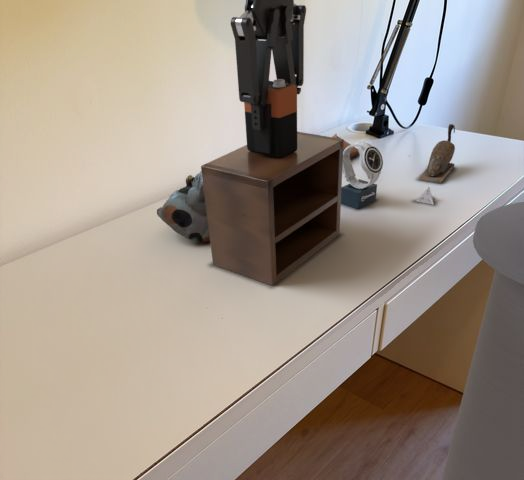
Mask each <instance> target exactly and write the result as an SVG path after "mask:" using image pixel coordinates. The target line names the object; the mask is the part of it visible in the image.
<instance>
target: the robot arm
mask: <svg viewBox="0 0 524 480" xmlns="http://www.w3.org/2000/svg"><path fill="white" fill-rule="evenodd" d="M294 1H295V0H245V4H244V12H243V13H242V14H241V15H240V16H238V17H237V16H233V17H231V19H230V28H231V30H232V34H233V37H234V45H235V59H236V60H235V61H236V73H237V87H238V99H239V101H240V102H241V103H244V102H245V103H247V104H250V105H251V114H252V127H253V129H254V142H255V151H258V152H263V153H268V154H271V153H273V145H272V117H271V104H267V96H268V85H269V81H270V73H271V62H272V58H273V65H274V71H275V78H276V79H283V80H285V83H287V84H293V85H296V87H297V95H300V94H301V92H302V87H303V85H304V80H305V79H304V70H305V69H304V67H305V66H304V63H305V62H304V61H305V60H304V58H305V57H304V56H305V55H304V53H305V51H304V50H305V44H304V42H305V41H304V39H305V35H304V33H305V27H304V26H305V20H306V15H307V7H306V5H304V4H296V3H295V2H294Z"/></svg>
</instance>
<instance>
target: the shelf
mask: <svg viewBox="0 0 524 480" xmlns="http://www.w3.org/2000/svg"><path fill="white" fill-rule="evenodd" d="M344 141H345V140H344V138H341V139H339V138H333V136H327V135H320V134H314V133H309V132H303V131H297V151H295V152H293V153H291V154H288V155H286V156H284V157H281V158H276V157H272V156H268V155H264V154H260V153H256V152H253V151H249V150H248V149H247V144H245V145H242V146H241V147H239V148H237V149H235V150H232V151H230V152H228V153H226V154H224V155H222V156H219V157H218V158H215V159H213V160H210V161H209V162H206V163H204V164H202V165H200V169H201V171H202V179H203V187H204V195H205V203H206V211H207V219H208V227H209V235H210V241H209V242H210V250H211V251H210V252H211V258H212V265H213V266H215V267H218V268H221V269H224V270H227V271H229V272H232V273H235V274H238V275H240V276H244V277H247V278H249V279H252V280H255V281H258V282H261V283H263V284H266V285H269V286H274V285H275V284H276V283H278V282H279V281H281V280H282V279H283V278H285V277H286V276H287V275H288V274H290V273H291V272H292V271H294V270H295V269H297V268H298V267H299V266H300V265H301V264H303V263H304V262H305V261H307V260H308V259H309V258H310V257H312V256H313V255H315V254H316V253H317V252H319V251H320V250H322V248H324V247H325V246H327V245H328V244H329V243H330V242H332V241H333V240H334V239H335V238H337V237H338V236H340V233H341V232H340V231H341V230H340V229H341V210H342V209H341V208H342V207H341V206H342V204H341V189H342V187H343V171H342V166H343V145H344ZM201 171H200V172H201Z"/></svg>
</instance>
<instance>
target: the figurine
mask: <svg viewBox="0 0 524 480" xmlns="http://www.w3.org/2000/svg"><path fill="white" fill-rule="evenodd" d="M452 131H453V134H455V132H456V127H455V124H453V123H449V124H448V128H447V140H441V141H438V142H437V143H436V144H435V146H434V147H433V148H432V151H431V154H430V157H429V161H428V164H427V167H426V169H425V170H424V172H422V173H421V175H419V180H420V181H423V182H424V181H425V182H431V183H437V184H441V183H442V182H443V181H444V180H445V179H446V177H448V175H449V174H450V173H451V172H452V171H453V170H454V168H455V163H453V162H451V161H452V160H453V157H454V154H455V151H456V145H455V144H454V143H453V142H452Z"/></svg>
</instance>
